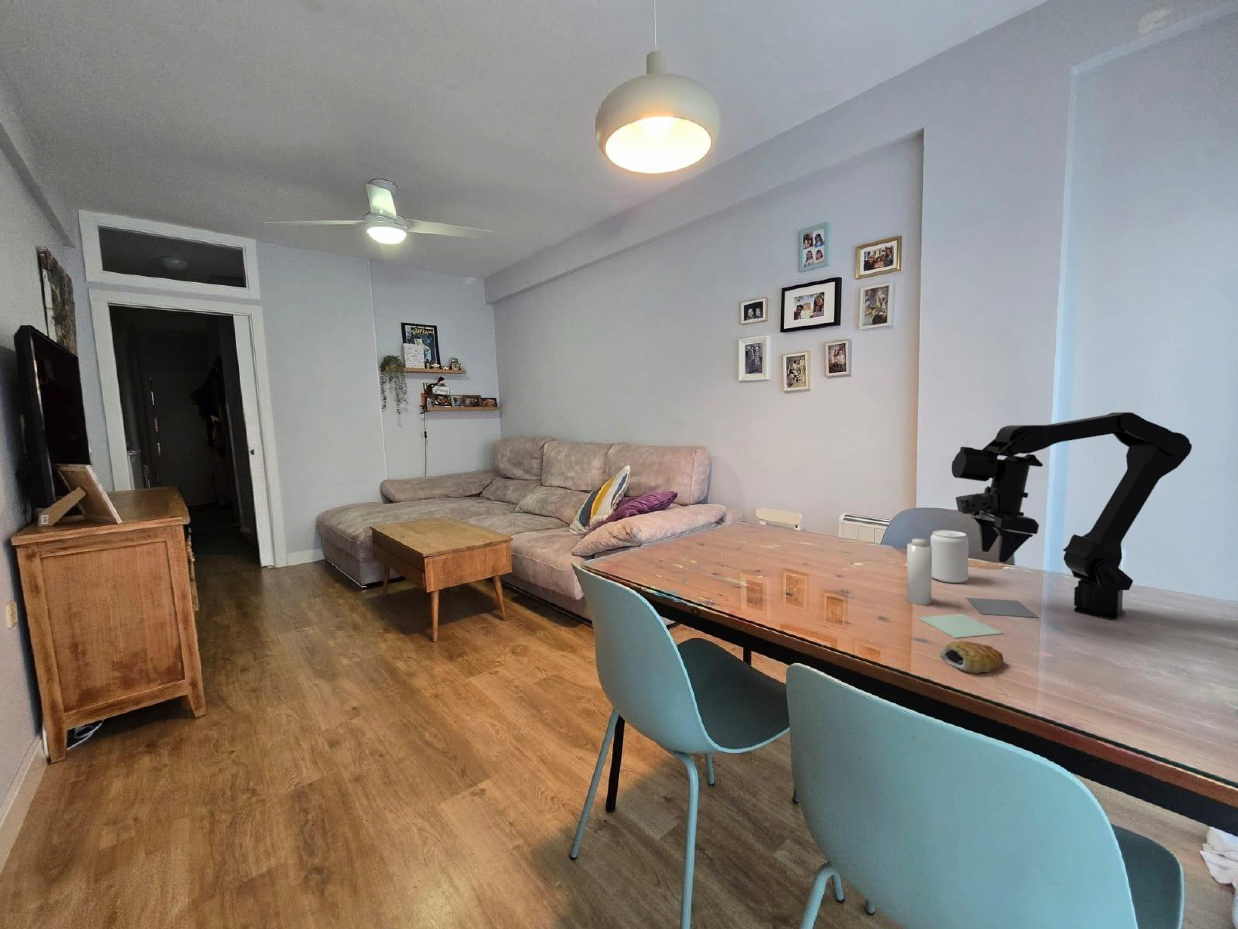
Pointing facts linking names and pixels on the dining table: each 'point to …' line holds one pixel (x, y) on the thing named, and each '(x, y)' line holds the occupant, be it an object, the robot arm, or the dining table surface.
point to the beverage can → (949, 556)
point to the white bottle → (919, 572)
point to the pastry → (971, 656)
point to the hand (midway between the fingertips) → (993, 556)
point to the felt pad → (1001, 607)
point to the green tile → (959, 626)
